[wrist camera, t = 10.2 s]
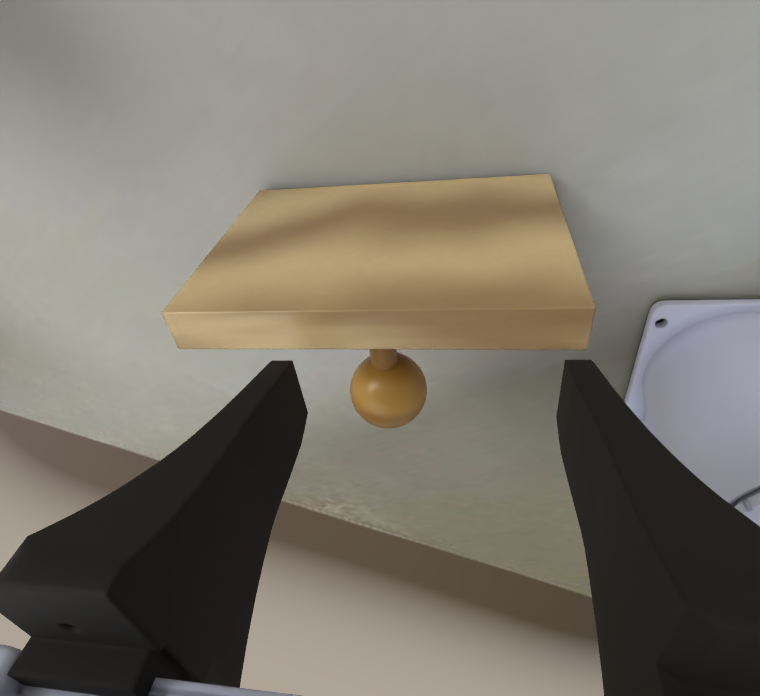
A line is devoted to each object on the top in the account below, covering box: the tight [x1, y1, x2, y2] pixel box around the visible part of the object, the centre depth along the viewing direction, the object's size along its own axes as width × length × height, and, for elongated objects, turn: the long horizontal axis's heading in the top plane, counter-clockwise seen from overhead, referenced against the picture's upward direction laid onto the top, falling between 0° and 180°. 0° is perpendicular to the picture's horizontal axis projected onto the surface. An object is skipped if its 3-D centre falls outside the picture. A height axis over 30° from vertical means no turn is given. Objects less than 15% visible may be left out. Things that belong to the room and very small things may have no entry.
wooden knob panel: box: [162, 174, 596, 428], centre depth 19 cm, size 9×12×6 cm
